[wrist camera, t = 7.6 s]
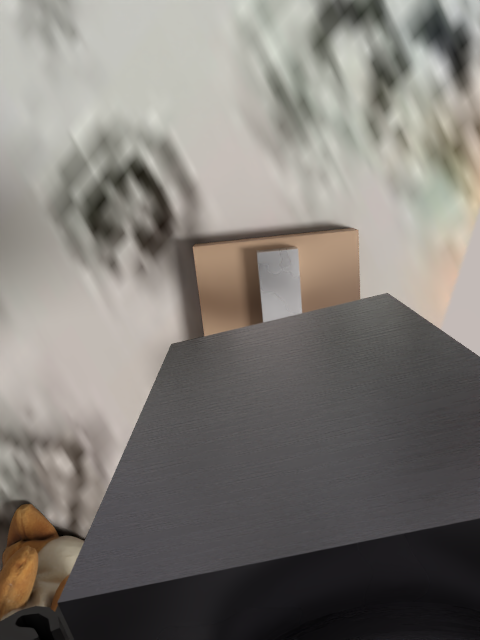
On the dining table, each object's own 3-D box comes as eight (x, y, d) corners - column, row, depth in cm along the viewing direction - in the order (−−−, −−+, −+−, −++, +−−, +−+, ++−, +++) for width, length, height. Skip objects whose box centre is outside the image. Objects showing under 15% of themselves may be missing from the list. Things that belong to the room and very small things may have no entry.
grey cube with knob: (171, 344, 12) (-4, 741, 3) (387, 292, 12) (822, 594, 3) (225, 520, 14) (201, 1098, 5) (417, 480, 13) (754, 1032, 5)
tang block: (194, 244, 28) (184, 258, 23) (351, 227, 28) (382, 238, 22) (228, 506, 34) (227, 571, 28) (359, 494, 34) (385, 557, 28)
